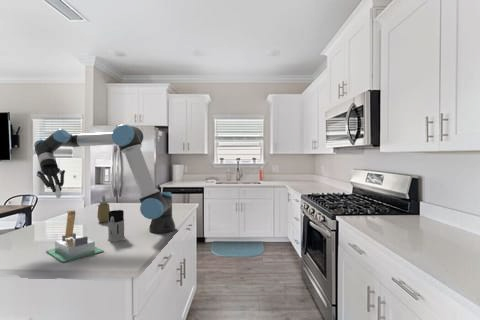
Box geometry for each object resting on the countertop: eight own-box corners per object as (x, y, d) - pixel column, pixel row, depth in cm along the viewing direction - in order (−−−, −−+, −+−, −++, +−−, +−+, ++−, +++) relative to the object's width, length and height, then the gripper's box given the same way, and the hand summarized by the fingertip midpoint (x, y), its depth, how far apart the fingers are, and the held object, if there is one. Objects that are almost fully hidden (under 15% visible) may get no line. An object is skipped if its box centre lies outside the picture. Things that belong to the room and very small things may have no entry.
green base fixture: (46, 251, 131) (45, 235, 130) (84, 242, 144) (84, 227, 143) (62, 263, 116) (62, 244, 116) (103, 252, 130) (103, 235, 129)
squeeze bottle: (97, 223, 185) (96, 196, 185) (97, 221, 192) (96, 195, 192) (110, 222, 189) (110, 195, 189) (110, 219, 196) (109, 194, 196)
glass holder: (126, 236, 155) (126, 209, 155) (120, 244, 141) (119, 214, 141) (110, 237, 154) (109, 210, 153) (102, 245, 140) (101, 215, 139)
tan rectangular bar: (65, 239, 133) (64, 236, 134) (72, 237, 135) (71, 235, 137) (69, 213, 130) (67, 211, 131) (76, 212, 132) (74, 210, 134)
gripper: (60, 167, 157) (71, 199, 147) (32, 168, 147) (42, 202, 137) (63, 157, 154) (75, 190, 143) (34, 158, 144) (45, 192, 133)
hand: (59, 196), depth 140 cm, fingers closed
